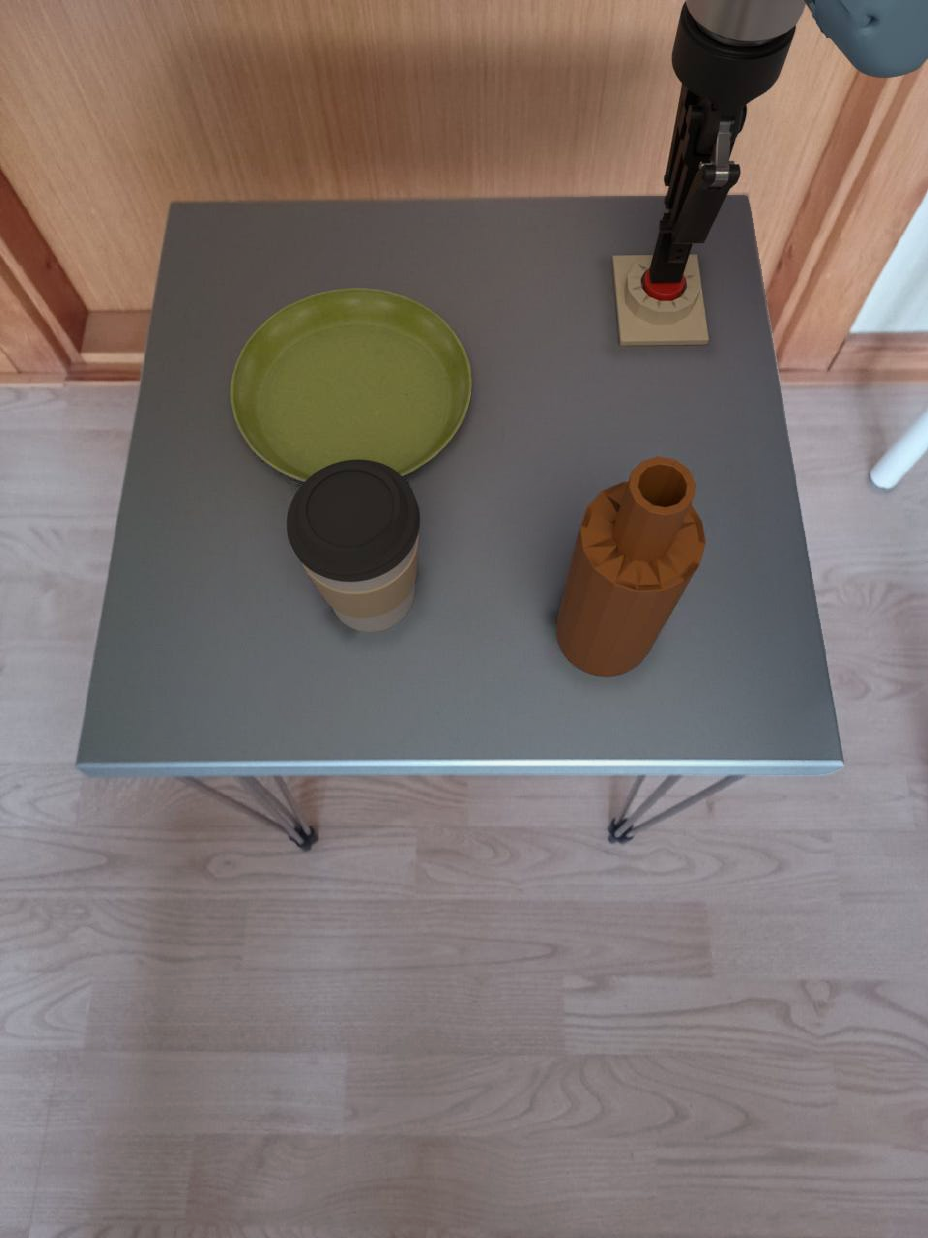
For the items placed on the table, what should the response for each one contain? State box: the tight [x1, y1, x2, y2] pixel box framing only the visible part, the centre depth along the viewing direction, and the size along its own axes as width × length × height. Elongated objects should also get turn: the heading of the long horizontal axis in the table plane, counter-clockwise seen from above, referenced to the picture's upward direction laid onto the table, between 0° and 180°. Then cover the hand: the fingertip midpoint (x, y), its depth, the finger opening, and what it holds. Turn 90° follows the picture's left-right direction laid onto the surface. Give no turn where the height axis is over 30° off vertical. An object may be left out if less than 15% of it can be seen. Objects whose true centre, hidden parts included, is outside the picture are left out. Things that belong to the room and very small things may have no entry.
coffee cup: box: [286, 459, 421, 633], centre depth 64 cm, size 9×9×15 cm
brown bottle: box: [555, 456, 707, 678], centre depth 59 cm, size 8×8×23 cm
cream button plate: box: [611, 253, 710, 347], centre depth 80 cm, size 10×8×2 cm
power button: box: [642, 270, 685, 301], centre depth 79 cm, size 4×4×2 cm
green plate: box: [229, 287, 472, 483], centre depth 76 cm, size 21×21×3 cm
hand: (665, 275), depth 78 cm, fingers closed
